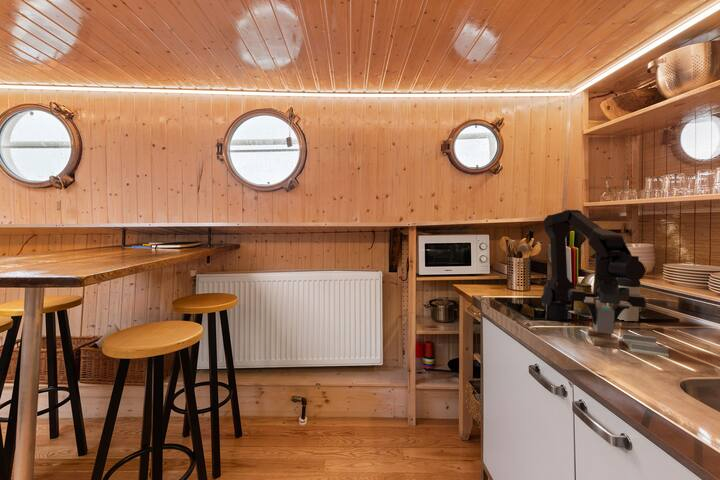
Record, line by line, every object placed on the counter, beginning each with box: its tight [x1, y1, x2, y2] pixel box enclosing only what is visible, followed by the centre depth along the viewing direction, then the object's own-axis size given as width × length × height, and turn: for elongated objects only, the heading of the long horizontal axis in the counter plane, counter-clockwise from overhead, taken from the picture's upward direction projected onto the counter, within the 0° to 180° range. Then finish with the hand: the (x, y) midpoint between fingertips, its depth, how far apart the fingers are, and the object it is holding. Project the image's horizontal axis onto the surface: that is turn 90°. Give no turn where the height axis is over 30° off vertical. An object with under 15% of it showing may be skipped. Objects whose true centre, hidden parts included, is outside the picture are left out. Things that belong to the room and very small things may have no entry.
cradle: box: [620, 332, 670, 357], centre depth 98 cm, size 8×12×2 cm, turn 154°
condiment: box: [568, 282, 593, 318], centre depth 134 cm, size 7×8×12 cm
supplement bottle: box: [541, 278, 551, 308], centre depth 145 cm, size 7×7×12 cm
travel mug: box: [612, 278, 642, 322], centre depth 127 cm, size 8×8×18 cm
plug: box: [592, 304, 615, 335], centre depth 102 cm, size 4×6×8 cm, turn 154°
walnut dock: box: [586, 328, 620, 350], centre depth 103 cm, size 6×12×2 cm, turn 154°
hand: (603, 325), depth 103 cm, fingers closed on plug, 4 cm apart
